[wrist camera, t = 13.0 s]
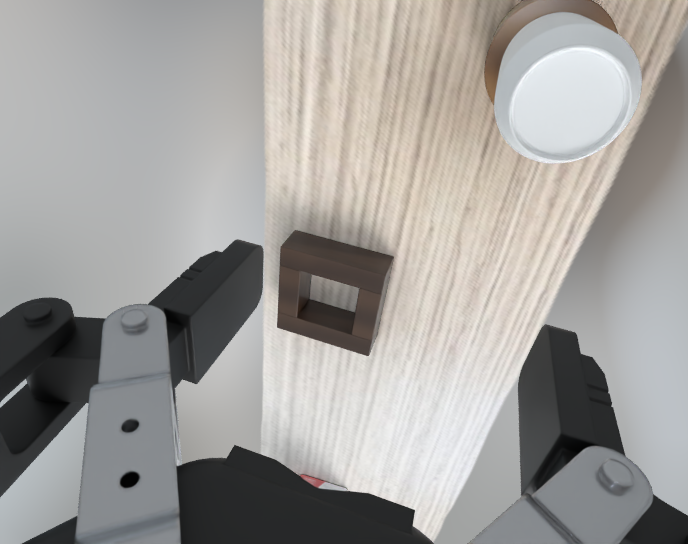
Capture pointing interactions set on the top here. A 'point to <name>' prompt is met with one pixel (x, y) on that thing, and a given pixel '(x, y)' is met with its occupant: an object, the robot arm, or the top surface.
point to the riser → (534, 6)
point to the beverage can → (565, 88)
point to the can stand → (339, 265)
